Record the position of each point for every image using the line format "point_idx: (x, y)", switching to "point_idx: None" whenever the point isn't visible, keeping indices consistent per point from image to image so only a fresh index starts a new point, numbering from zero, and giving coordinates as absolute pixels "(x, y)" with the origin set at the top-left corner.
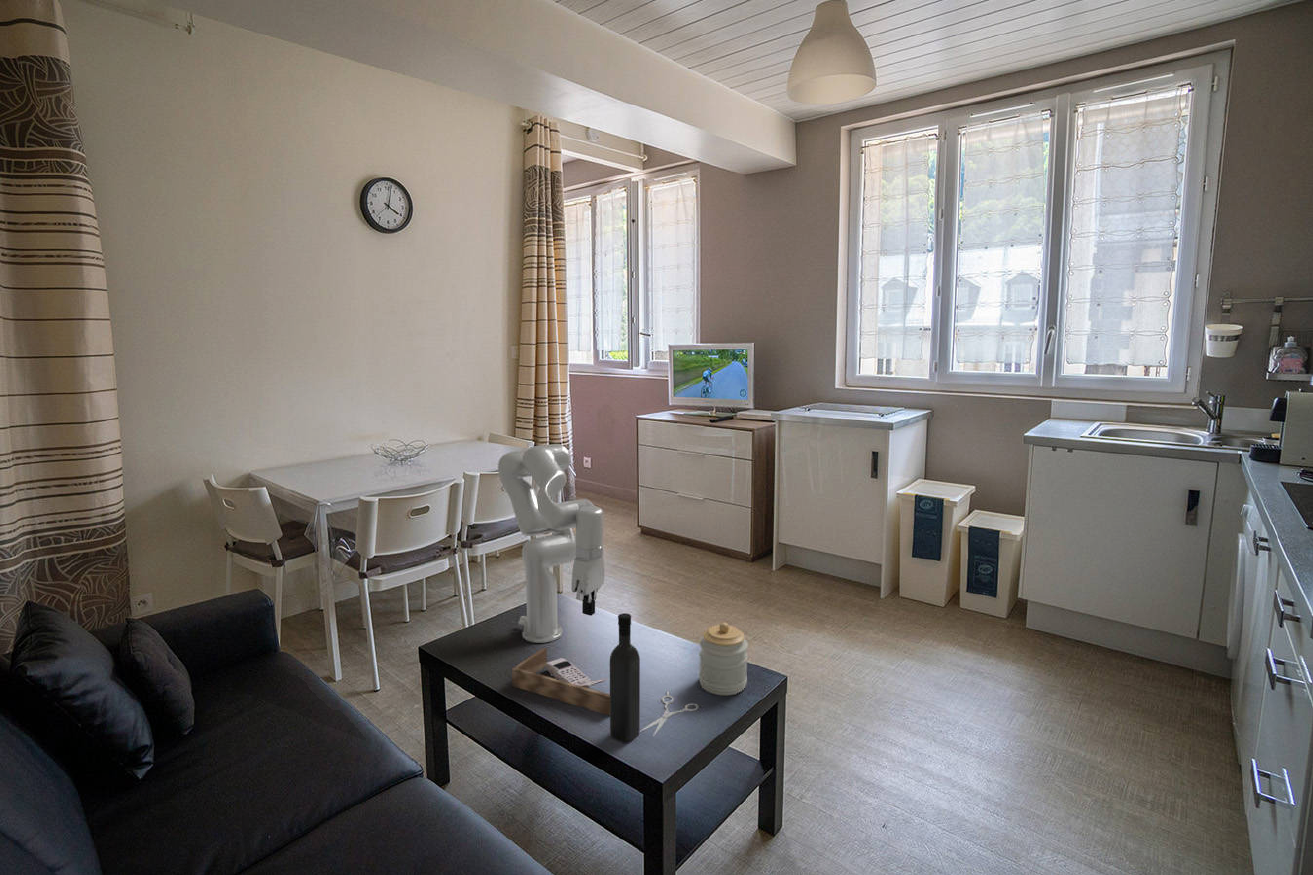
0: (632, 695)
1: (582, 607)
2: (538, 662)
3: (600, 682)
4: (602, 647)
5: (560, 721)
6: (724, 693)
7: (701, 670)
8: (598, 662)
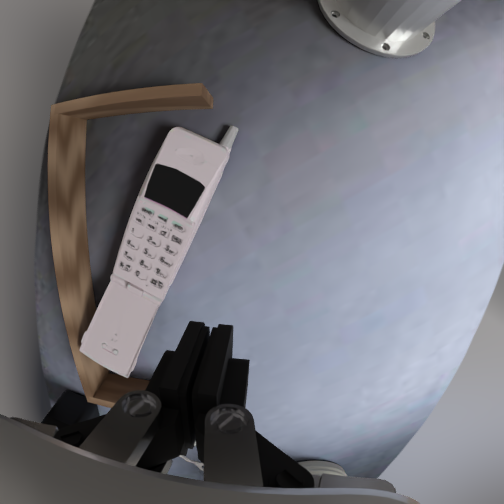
0: None
1: (179, 342)
2: (162, 105)
3: (110, 369)
4: (391, 212)
5: (40, 300)
6: None
7: None
8: (298, 249)
